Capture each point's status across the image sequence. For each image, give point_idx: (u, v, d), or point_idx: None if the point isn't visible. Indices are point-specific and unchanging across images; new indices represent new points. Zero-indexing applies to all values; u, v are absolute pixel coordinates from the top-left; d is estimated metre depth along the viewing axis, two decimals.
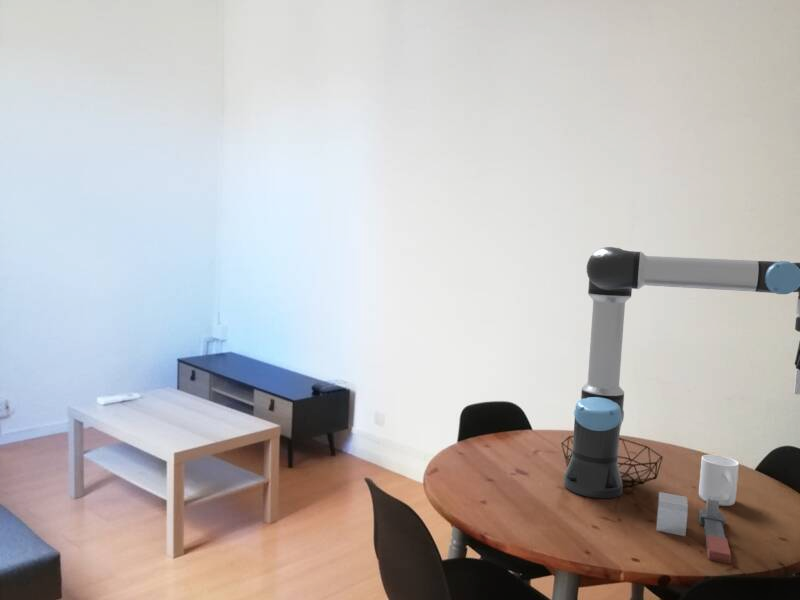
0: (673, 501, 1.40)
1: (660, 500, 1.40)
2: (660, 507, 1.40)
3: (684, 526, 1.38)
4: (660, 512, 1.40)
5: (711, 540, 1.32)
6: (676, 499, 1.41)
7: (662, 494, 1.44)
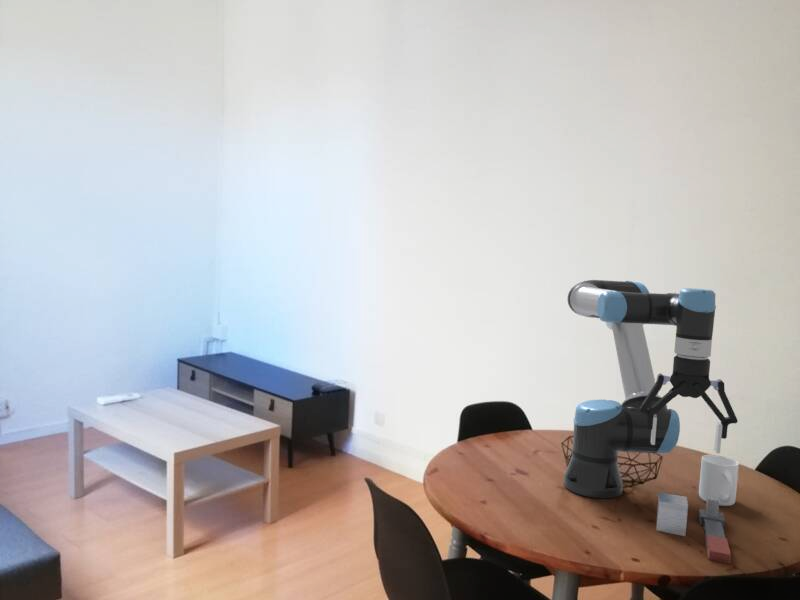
0: (673, 501, 1.40)
1: (660, 500, 1.40)
2: (660, 507, 1.40)
3: (684, 526, 1.38)
4: (660, 512, 1.40)
5: (711, 540, 1.32)
6: (676, 499, 1.41)
7: (662, 494, 1.44)
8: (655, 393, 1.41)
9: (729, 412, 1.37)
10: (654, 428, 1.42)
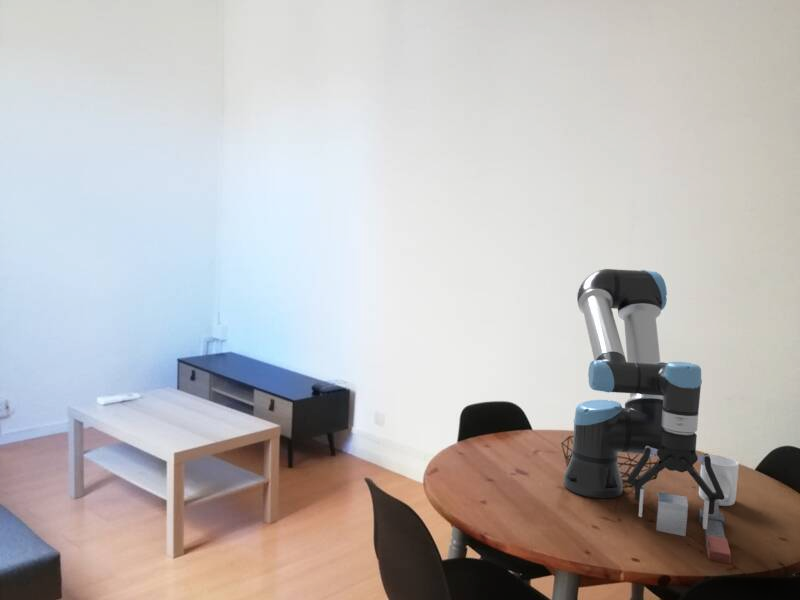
0: (673, 501, 1.40)
1: (660, 500, 1.40)
2: (660, 507, 1.40)
3: (684, 526, 1.38)
4: (660, 512, 1.40)
5: (711, 540, 1.32)
6: (676, 499, 1.41)
7: (662, 494, 1.44)
8: (642, 465, 1.42)
9: (716, 488, 1.37)
10: (641, 500, 1.43)
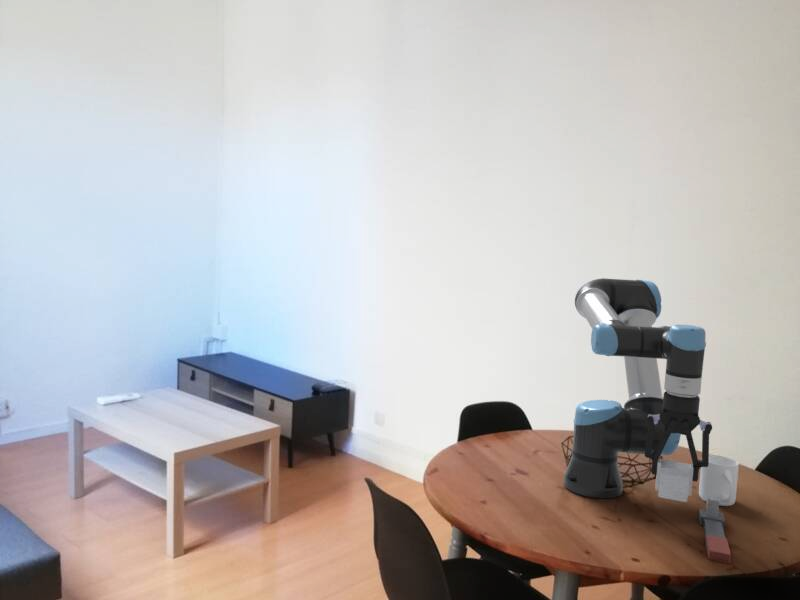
0: (675, 468, 1.39)
1: (662, 466, 1.40)
2: (662, 473, 1.39)
3: (686, 492, 1.38)
4: (662, 478, 1.40)
5: (711, 540, 1.32)
6: (678, 466, 1.41)
7: (664, 461, 1.43)
8: (651, 435, 1.42)
9: (704, 455, 1.38)
10: (658, 473, 1.42)
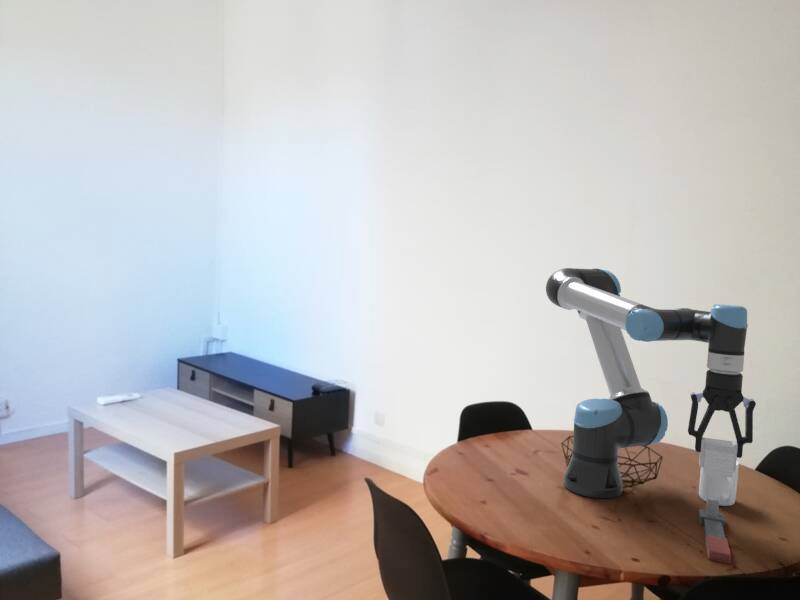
0: (719, 444, 1.42)
1: (707, 443, 1.43)
2: (707, 450, 1.42)
3: (731, 468, 1.40)
4: (707, 455, 1.42)
5: (711, 540, 1.32)
6: (722, 442, 1.44)
7: (707, 439, 1.46)
8: (695, 413, 1.45)
9: (748, 431, 1.41)
10: (702, 451, 1.44)
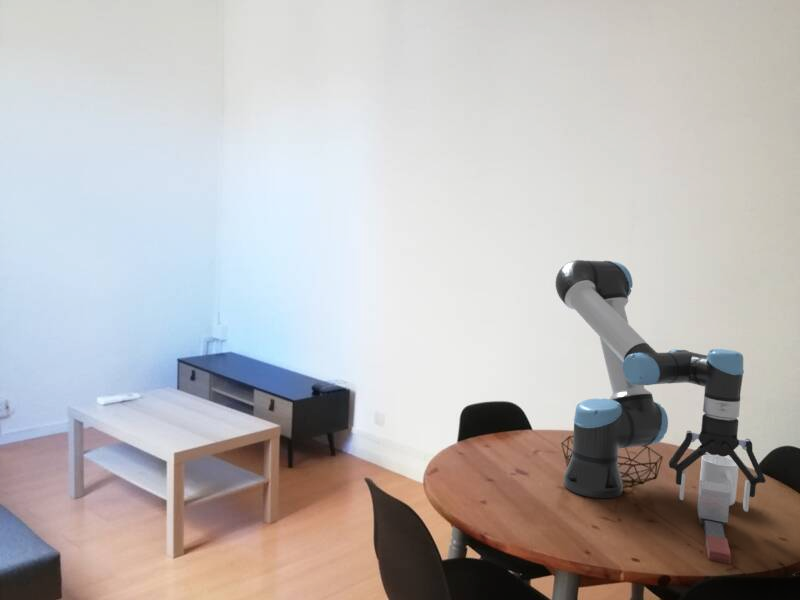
0: (715, 489, 1.43)
1: (702, 488, 1.44)
2: (702, 494, 1.43)
3: (726, 513, 1.42)
4: (702, 499, 1.43)
5: (711, 540, 1.32)
6: (717, 487, 1.45)
7: (703, 482, 1.47)
8: (684, 450, 1.46)
9: (757, 472, 1.41)
10: (683, 484, 1.47)
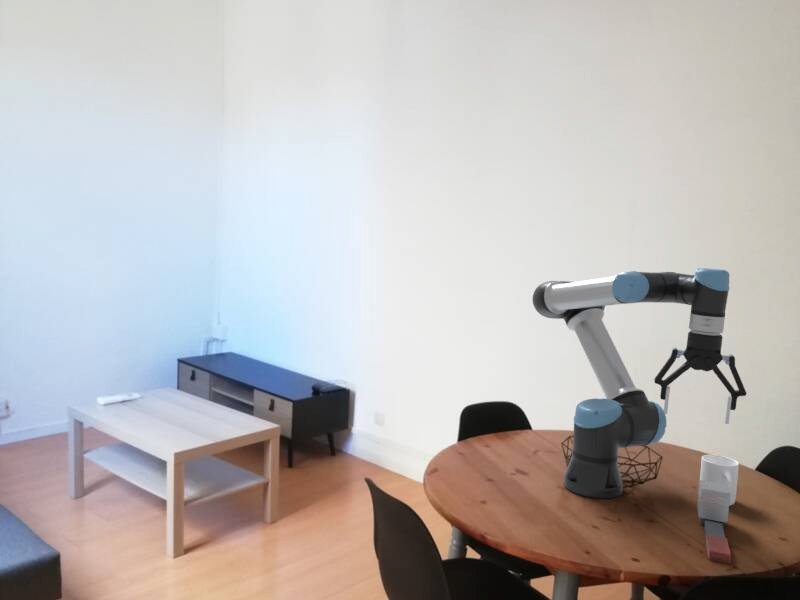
0: (715, 489, 1.43)
1: (702, 488, 1.44)
2: (702, 494, 1.43)
3: (726, 513, 1.42)
4: (702, 499, 1.43)
5: (711, 540, 1.32)
6: (717, 487, 1.45)
7: (703, 482, 1.47)
8: (669, 366, 1.51)
9: (739, 385, 1.45)
10: (667, 398, 1.52)
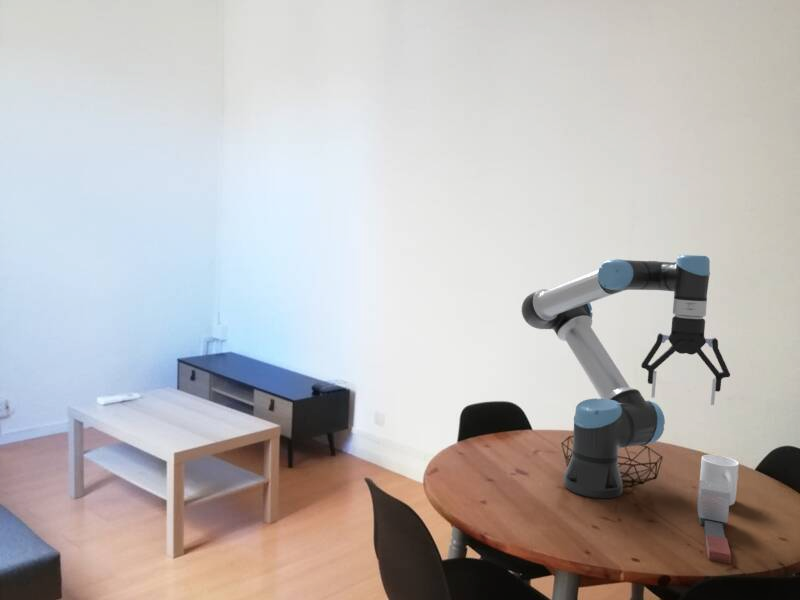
0: (715, 489, 1.43)
1: (702, 488, 1.44)
2: (702, 494, 1.43)
3: (726, 513, 1.42)
4: (702, 499, 1.43)
5: (711, 540, 1.32)
6: (717, 487, 1.45)
7: (703, 482, 1.47)
8: (655, 350, 1.56)
9: (722, 367, 1.50)
10: (654, 382, 1.56)
